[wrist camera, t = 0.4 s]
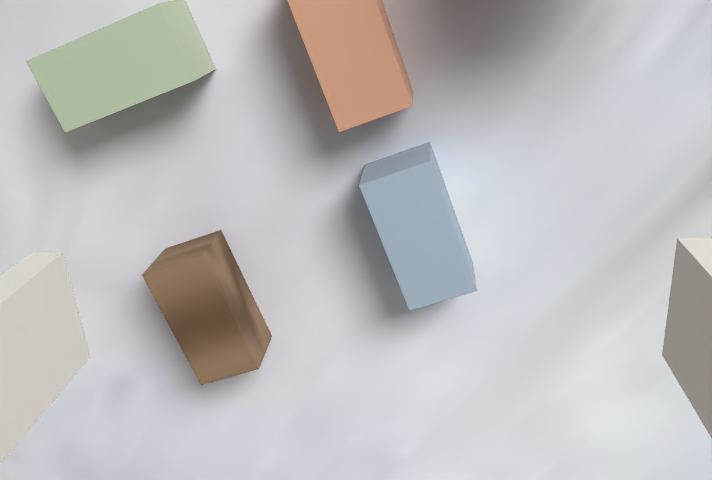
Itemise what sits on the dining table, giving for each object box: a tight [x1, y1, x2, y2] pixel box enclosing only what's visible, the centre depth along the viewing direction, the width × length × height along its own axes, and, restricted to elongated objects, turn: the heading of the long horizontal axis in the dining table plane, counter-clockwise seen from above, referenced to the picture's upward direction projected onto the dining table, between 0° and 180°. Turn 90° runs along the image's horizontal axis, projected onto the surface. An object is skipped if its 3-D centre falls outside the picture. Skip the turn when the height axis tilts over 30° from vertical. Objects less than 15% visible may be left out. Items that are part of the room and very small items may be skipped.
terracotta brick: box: [287, 0, 413, 132], centre depth 35 cm, size 8×4×4 cm, turn 21°
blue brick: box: [359, 142, 477, 311], centre depth 38 cm, size 8×4×4 cm, turn 21°
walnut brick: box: [142, 230, 272, 385], centre depth 42 cm, size 8×4×4 cm, turn 21°
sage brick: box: [26, 0, 216, 133], centre depth 36 cm, size 8×4×4 cm, turn 111°
